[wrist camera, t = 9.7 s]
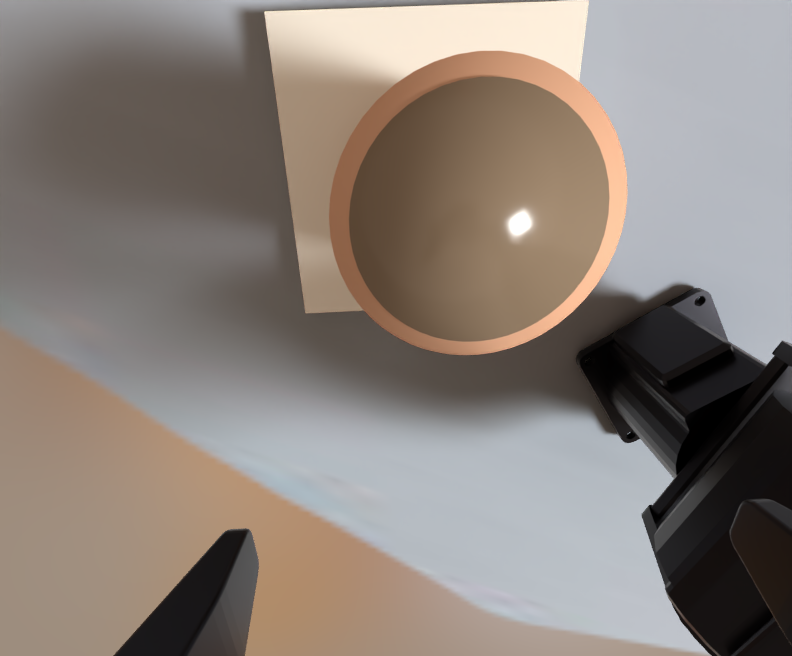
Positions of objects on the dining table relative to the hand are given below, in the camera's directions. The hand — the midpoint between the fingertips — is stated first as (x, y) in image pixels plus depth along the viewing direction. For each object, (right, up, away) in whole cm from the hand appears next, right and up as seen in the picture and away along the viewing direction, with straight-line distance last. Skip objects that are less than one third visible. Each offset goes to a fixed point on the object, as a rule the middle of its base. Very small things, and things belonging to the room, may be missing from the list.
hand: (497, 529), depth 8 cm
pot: (-1, +10, +9) cm, 13 cm away
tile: (-1, +10, +10) cm, 14 cm away
